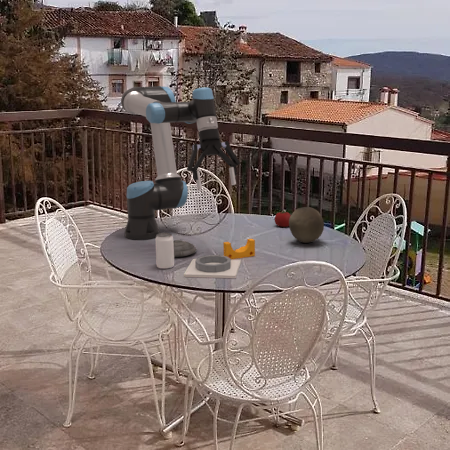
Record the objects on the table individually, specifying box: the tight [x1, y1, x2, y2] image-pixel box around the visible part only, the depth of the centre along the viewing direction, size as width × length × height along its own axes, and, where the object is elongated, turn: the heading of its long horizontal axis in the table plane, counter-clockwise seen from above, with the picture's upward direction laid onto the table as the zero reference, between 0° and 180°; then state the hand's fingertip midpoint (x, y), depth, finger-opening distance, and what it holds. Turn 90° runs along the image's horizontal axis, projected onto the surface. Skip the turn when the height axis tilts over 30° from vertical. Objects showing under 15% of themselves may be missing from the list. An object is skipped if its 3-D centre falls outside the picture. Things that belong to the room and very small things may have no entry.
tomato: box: [274, 210, 292, 228], centre depth 269 cm, size 8×8×7 cm
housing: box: [183, 254, 242, 279], centre depth 209 cm, size 18×18×4 cm
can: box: [154, 232, 175, 270], centre depth 213 cm, size 6×6×12 cm
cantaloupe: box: [288, 206, 325, 244], centre depth 239 cm, size 14×14×15 cm
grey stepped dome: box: [173, 239, 197, 258], centre depth 230 cm, size 15×15×6 cm
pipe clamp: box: [223, 238, 256, 260], centre depth 224 cm, size 12×4×6 cm, turn 114°
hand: (217, 186), depth 216 cm, fingers open, 13 cm apart
